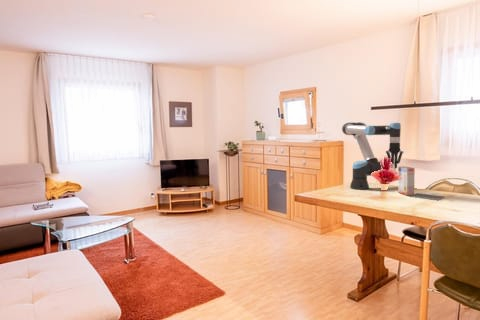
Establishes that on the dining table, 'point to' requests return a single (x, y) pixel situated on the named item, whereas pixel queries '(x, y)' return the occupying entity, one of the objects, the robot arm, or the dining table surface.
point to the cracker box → (406, 180)
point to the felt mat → (427, 196)
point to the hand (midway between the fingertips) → (393, 172)
